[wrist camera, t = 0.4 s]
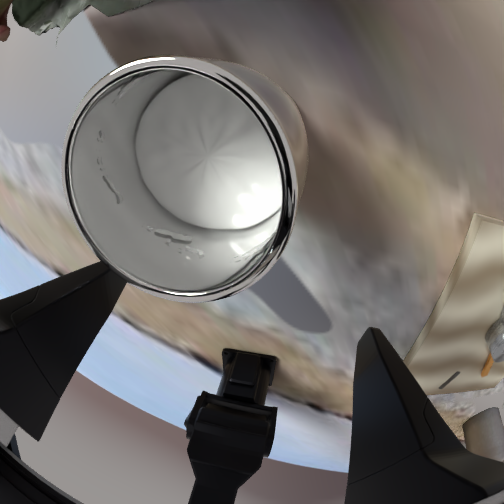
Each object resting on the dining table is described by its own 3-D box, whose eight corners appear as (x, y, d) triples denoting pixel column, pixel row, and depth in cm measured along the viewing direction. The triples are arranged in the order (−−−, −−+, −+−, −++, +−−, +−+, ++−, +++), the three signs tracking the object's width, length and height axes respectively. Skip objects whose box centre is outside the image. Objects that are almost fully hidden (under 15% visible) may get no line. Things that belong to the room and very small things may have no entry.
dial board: (491, 380, 29) (494, 388, 28) (384, 387, 32) (385, 397, 31) (576, 247, 15) (583, 254, 14) (474, 212, 18) (483, 221, 17)
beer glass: (304, 173, 20) (289, 326, 8) (213, 165, 21) (86, 286, 9) (311, 81, 16) (321, 39, 4) (213, 78, 17) (45, 79, 5)
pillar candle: (459, 431, 40) (465, 485, 27) (466, 417, 36) (476, 478, 23) (492, 417, 36) (502, 468, 24) (503, 400, 32) (516, 458, 20)
